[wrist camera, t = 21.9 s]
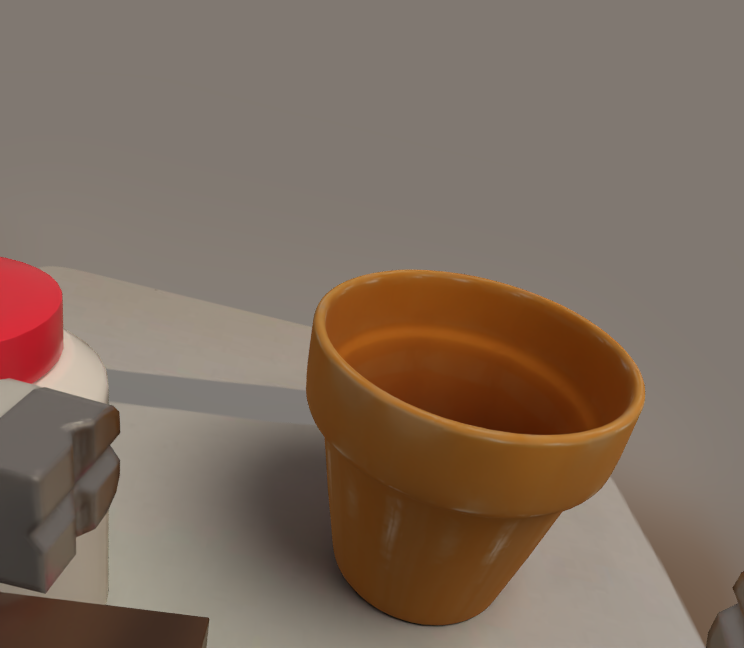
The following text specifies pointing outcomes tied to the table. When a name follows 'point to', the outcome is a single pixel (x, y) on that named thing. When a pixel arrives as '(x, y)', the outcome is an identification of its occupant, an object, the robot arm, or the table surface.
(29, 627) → the cabinet
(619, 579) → the table surface
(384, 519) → the flower pot
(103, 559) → the pill bottle
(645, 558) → the table surface
